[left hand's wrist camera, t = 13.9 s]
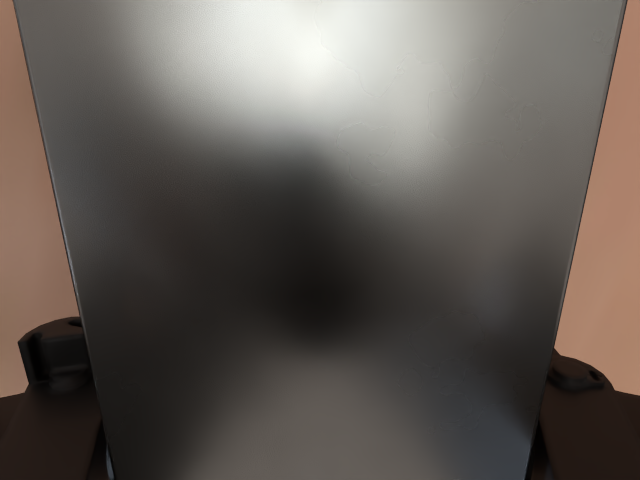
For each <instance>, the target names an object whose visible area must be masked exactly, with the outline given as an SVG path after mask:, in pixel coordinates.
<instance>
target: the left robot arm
mask: <svg viewBox="0 0 640 480" xmlns="http://www.w3.org/2000/svg"><path fill="white" fill-rule="evenodd" d="M18 346H19V349H20V353H21V357H22V360H23V364H24V368H25V371H26V375H27V379H28V382H29V385H28V387H27V389H26V391H25V393H21V394H17V395H12V396H7V397H2V398H0V480H114V475H113V470H112V466H111V461H110V456H109V452H108V447H107V442H106V437H105V433H104V428H103V423H102V419H101V414H100V409H99V404H98V400H97V395H96V390H95V386H94V381H93V376H92V371H91V367H90V362H89V357H88V353H87V348H86V343H85V338H84V334H83V329H82V324H81V320H80V317H68V318H63V319H59V320H54V321H52V322H49V323H46V324H43V325H41V326H38V327H37V328H35V329H33V330H31V331H30V332H28V333H26V334H25V335H24V336H23V337H22V338H21V339H20V340H19V341H18ZM526 480H640V396H638V395H633V394H628V393H623V392H619V391H616V390H614V388H613V386H612V384H611V383H610V381H609V380H608V379H607V378H606V377H605V375H604V374H603V373H601V372H600V371H598V370H597V369H595V368H594V367H592V366H591V365H589V364H586V363H584V362H582V361H579V360H577V359H574V358H569V357H565V356H561V355H560V354H559V353H558V352H557V351H556V350H555V349H554V350H553V354H552V359H551V364H550V369H549V373H548V378H547V383H546V387H545V392H544V397H543V402H542V406H541V411H540V416H539V421H538V425H537V430H536V435H535V439H534V444H533V449H532V454H531V458H530V463H529V468H528V472H527V477H526Z"/></svg>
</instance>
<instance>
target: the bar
mask: <svg viewBox="0 0 640 480" xmlns="http://www.w3.org/2000/svg"><path fill="white" fill-rule="evenodd" d="M13 4H14V9H15V13H16V18H17V23H18V28H19V32H20V37H21V42H22V46H23V51H24V56H25V60H26V65H27V70H28V75H29V79H30V84H31V89H32V93H33V98H34V103H35V108H36V112H37V117H38V122H39V126H40V131H41V136H42V141H43V145H44V150H45V155H46V159H47V164H48V169H49V174H50V178H51V183H52V188H53V192H54V197H55V202H56V207H57V211H58V216H59V221H60V225H61V230H62V235H63V240H64V244H65V249H66V254H67V258H68V263H69V268H70V272H71V277H72V282H73V287H74V291H75V296H76V301H77V305H78V310H79V315H80V320H81V324H82V329H83V334H84V338H85V343H86V348H87V353H88V357H89V362H90V367H91V371H92V376H93V381H94V386H95V390H96V395H97V400H98V404H99V409H100V414H101V419H102V423H103V428H104V433H105V437H106V442H107V447H108V452H109V456H110V461H111V466H112V470H113V475H114V480H526V477H527V472H528V468H529V463H530V458H531V454H532V449H533V444H534V439H535V435H536V430H537V425H538V421H539V416H540V411H541V406H542V402H543V397H544V392H545V387H546V383H547V378H548V373H549V369H550V364H551V359H552V354H553V350H554V345H555V340H556V336H557V331H558V326H559V321H560V317H561V312H562V307H563V302H564V298H565V293H566V288H567V284H568V279H569V274H570V269H571V265H572V260H573V255H574V251H575V246H576V241H577V236H578V232H579V227H580V222H581V217H582V213H583V208H584V203H585V199H586V194H587V189H588V184H589V180H590V175H591V170H592V166H593V161H594V156H595V151H596V147H597V142H598V137H599V132H600V128H601V123H602V118H603V114H604V109H605V104H606V99H607V95H608V90H609V85H610V81H611V76H612V71H613V66H614V62H615V57H616V52H617V47H618V43H619V38H620V33H621V29H622V24H623V19H624V14H625V10H626V5H627V0H13Z"/></svg>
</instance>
